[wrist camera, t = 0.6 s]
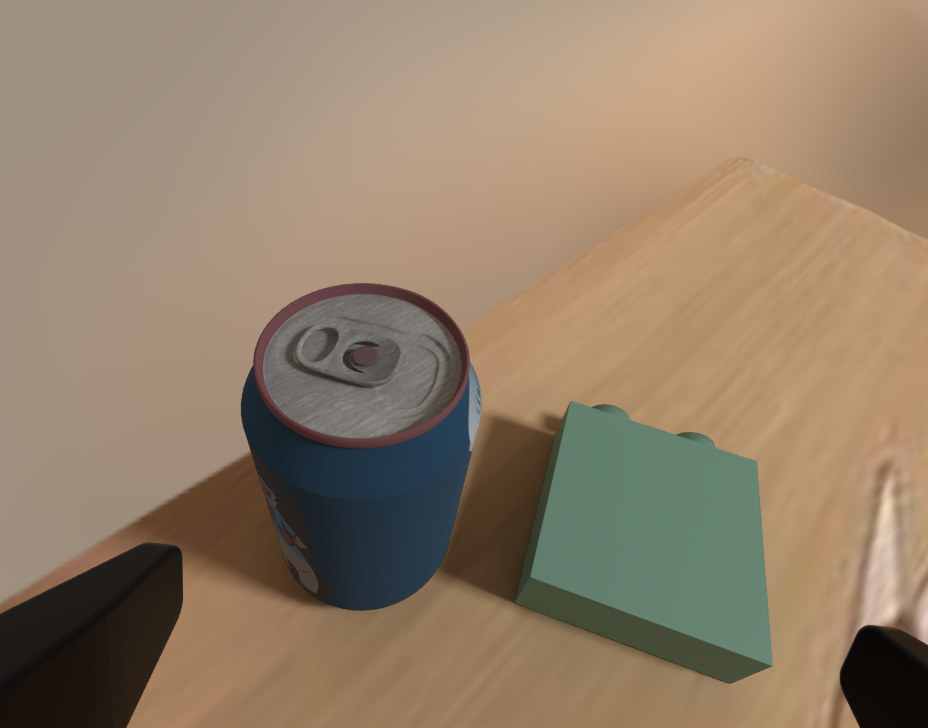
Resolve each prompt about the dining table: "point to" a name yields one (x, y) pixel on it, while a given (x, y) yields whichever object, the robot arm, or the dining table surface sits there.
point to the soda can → (362, 438)
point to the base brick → (651, 543)
